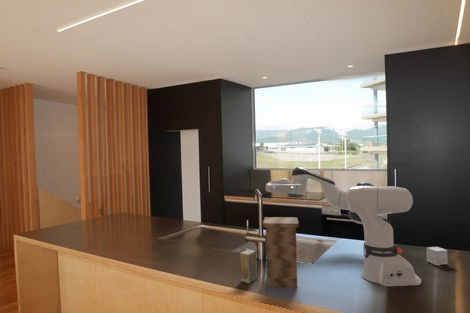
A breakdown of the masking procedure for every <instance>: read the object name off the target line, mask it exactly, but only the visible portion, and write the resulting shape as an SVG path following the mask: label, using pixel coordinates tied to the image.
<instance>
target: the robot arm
mask: <svg viewBox="0 0 470 313" xmlns="http://www.w3.org/2000/svg"><path fill="white" fill-rule="evenodd" d="M309 179H311V180H312V181H314V182H317V183H319V184H320V185H321V186H322V188H323V192H324V198H325V200H326V202H327V203H328V205H330V206H331V207H334V208H337V209H339V210H346V211H347V214H349V215H348V217H349V219H350V220H352V221H353V222H354V223H356V224H361V225H362V226H363V233H364V234H363V235H364V243H363V256H364V258H363V260H364V261H363V267H362V271H361V277H362V278H363V279H364V280H366V281H368V282H372V283H375V284H379V285H381V286H384V287H406V286H407V287H409V285H410V286H421V285H422V284H421V282H422V279H421V278H420V276H418V275H417V274H416V272H415V269H414V267H413V265H412V264H411V263H410V262H409V261H408V260H406V259H405V258H404V257H402V256H401V255H400V254H402V253H403V249H402V248H400V247H398V246H396V245H395V244H394V228H393V227H392V225H391V223H389V222H387V220H384V219H382V218H380V217H382V216H383V217H384V216H386V215H389V214H390V215H391V214H399V213H407V212H408V211H410V209H411V208H412V207H413V202H414V200H413V195H412V193H411V192H410V190H409V189H407V188H405V187H399V186H394V185H391V186H390V185H389V186H386V185H385V186H384V185H383V186H382V185H374V184H373V183H371V182H368V181H362V182H361V181H360V182H358V183H357V184H356V186H351V187H350V188H348V189H343V188H341V187H339V186H337V185H336V182H334V181H333V180H332V179H329V178H328V177H325V176H323V175H320V174H318V173H315V172H313V171H310V170H309V169H306V168H304V167H302V166H296V167H295V168H294V169H292V171H291V181H290V179H288V178H286V177H281V178H279V179H278V180H270V181H268V182H267V183H266V184H265V191H266V192H267V193H268V192H269V193H275V194H281V195H287V196H288V197H291V198H297V199H299V198H302V197H304V196H305V194H306V191H307V190H306V189H307V185H308V180H309ZM420 284H421V285H420Z"/></svg>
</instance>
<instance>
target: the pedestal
mask: <svg viewBox="0 0 470 313" xmlns="http://www.w3.org/2000/svg"><path fill="white" fill-rule="evenodd" d="M262 227H263V228H265V244H266V245H265V246H266V247H265V250H266V251H265V252H266V259H265V260H266V286H267V288H286V289H287V288H289V289H298V266H297V265H298V261H297V228H299V220H298V217H293V216H292V217H290V216H289V217H287V216H286V217H285V216H283V217H282V216H279V217H278V216H277V217H276V216H274V217H273V216H272V217H270V216H269V217H268V216H265V217H264V219H263V222H262Z"/></svg>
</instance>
